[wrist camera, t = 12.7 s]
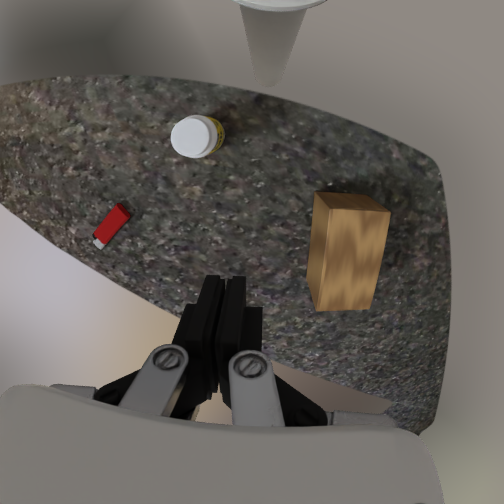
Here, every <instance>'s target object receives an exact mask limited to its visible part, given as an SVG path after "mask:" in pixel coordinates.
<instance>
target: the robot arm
mask: <svg viewBox="0 0 504 504" xmlns="http://www.w3.org/2000/svg"><path fill="white" fill-rule="evenodd" d="M262 311H263V307H246V276H233V279H228V281H227V286H226V290H225V279H220V275H207V276H206V278H205V281H204V284H203V287H202V289H201V292H200V295H199V298H198V301H197V304H187V305H186V306H185V309H184V312H183V314H182V317H181V319H180V322H179V325H178V328H177V330H176V333H175V335H174V338H173V341H172V344H165V345H162V346H159V347H157V348H156V349H154V350H153V351H152V352H151V353H150V355H149V357H148V358H147V360H146V361H145V363H144V364H143V366H142V368H141V369H139V370H137V371H135V372H133V373H131V374H129V375H126V376H124V377H122V378H120V379H118V380H116V381H113V382H111V383H109V384H107V385H104V386H103V387H101V388H100V389H99V390H98V389H96V388H95V387H89V386H74V385H63V384H54V385H51V386H49V387H48V386H43V385H35V384H24V385H23V384H22V385H17V386H13V387H11V388H9V389H8V390H7V391H6V392H5V393H4V394H3V395H2V396H1V397H0V504H444V499H443V493H442V489H441V485H440V481H439V477H438V474H437V471H436V468H435V465H434V462H433V459H432V457H431V454H430V452H429V450H428V448H427V447H426V445H425V444H424V442H423V441H422V440H421V439H420V438H419V437H418V436H417V435H416V434H414V433H412V432H409V431H406V430H404V429H400V428H398V426H397V423H396V421H395V420H394V419H393V418H392V417H390V416H388V415H384V414H370V413H359V412H348V411H339V410H334V411H333V412H326V411H324V410H323V409H322V408H321V407H320V406H318V405H317V404H315V403H314V402H312V401H311V400H310V399H308V398H307V397H305V396H304V395H303V394H301V393H300V392H298V391H297V390H296V389H294V388H293V387H291V386H290V385H289V384H287V383H286V382H285V381H283V380H282V379H281V378H279V377H278V376H277V375H275V374H274V372H273V367H272V363H271V360H270V358H269V357H268V356H267V355H265V354H264V353H262V352H261V347H262ZM218 384H219V385H220V392H221V393H222V397H223V402H224V403H225V404H226V405H227V406H228V407H229V408H230V409H231V410H232V422H233V425H225V424H213V423H205V422H196V421H195V419H196V417H197V414H198V412H199V408H200V404H201V403H203V402H204V401H206V400H207V399H209V400H211V397H212V393H217V390H218Z"/></svg>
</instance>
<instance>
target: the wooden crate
mask: <svg viewBox="0 0 504 504" xmlns="http://www.w3.org/2000/svg"><path fill="white" fill-rule="evenodd" d="M390 214H391V212H390V211H388V210H387V209H386V208H384V207H383V206H381V205H380V204H379V203H377V202H376V201H374V200H373V199H371V198H370V197H369V196H367V195H362V194H348V193H331V192H318V191H315V192H314V204H313V217H312V228H311V239H310V249H309V259H308V268H307V277H306V279H307V282H308V285H309V289H310V292H311V295H312V298H313V302H314V305H315V308H316V311H335V310H358V309H370V305H371V302H372V298H373V294H374V290H375V286H376V282H377V278H378V274H379V270H380V266H381V261H382V257H383V252H384V247H385V242H386V237H387V232H388V226H389V220H390Z"/></svg>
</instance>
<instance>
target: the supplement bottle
mask: <svg viewBox="0 0 504 504" xmlns="http://www.w3.org/2000/svg"><path fill="white" fill-rule="evenodd" d="M224 138H225V132H224V129H223V126H222V125H221V123H220V122H219V121H217V120H216V119H214V118H211V117H207V116H202V115H192V116H189V117H186V118H185V119H183V120H181V121H179V122H178V123H177V124H176V125H175V127H174V128H173V130H172V133H171V143H172V145H173V147H174V149H175V150H176V151H177V152H178V153H179V154H181V155H183V156H187V157H191V158H200V157H203V156H206V155H208V154H210V153H213V152H215V151H216V150H218V149H219V148H220V147H221V145H222V143H223V141H224Z"/></svg>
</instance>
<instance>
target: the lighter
mask: <svg viewBox="0 0 504 504" xmlns="http://www.w3.org/2000/svg"><path fill="white" fill-rule="evenodd" d="M129 218H130V214H129V212H128V211H127V210H126V209H125V208H124V207H123V206H122V205H121V204H120V203H117V204H116V206H115V207H114V208H113V209H112V210H111V211H110V213H109V214H108V215H107V216H106V218H105V219H104V220H103V221H102V223H101V224H100V225H99V226H98V228H97V229H96V230H95V231H94V233H93V234H92V235H93V237H94V239H95V240H94V244H95V245H96V246H97V247H98V248H99V249H103V247H104V246H105V245H106V244H107V243H108V241H109V240H110V239H111V238H112V237H113V236H114V234H115V233H116V232H117V231H118V230H119V229H120V228H121V226H122V225H123V224H124V223H125V222H126V221H127V220H128V219H129Z"/></svg>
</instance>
